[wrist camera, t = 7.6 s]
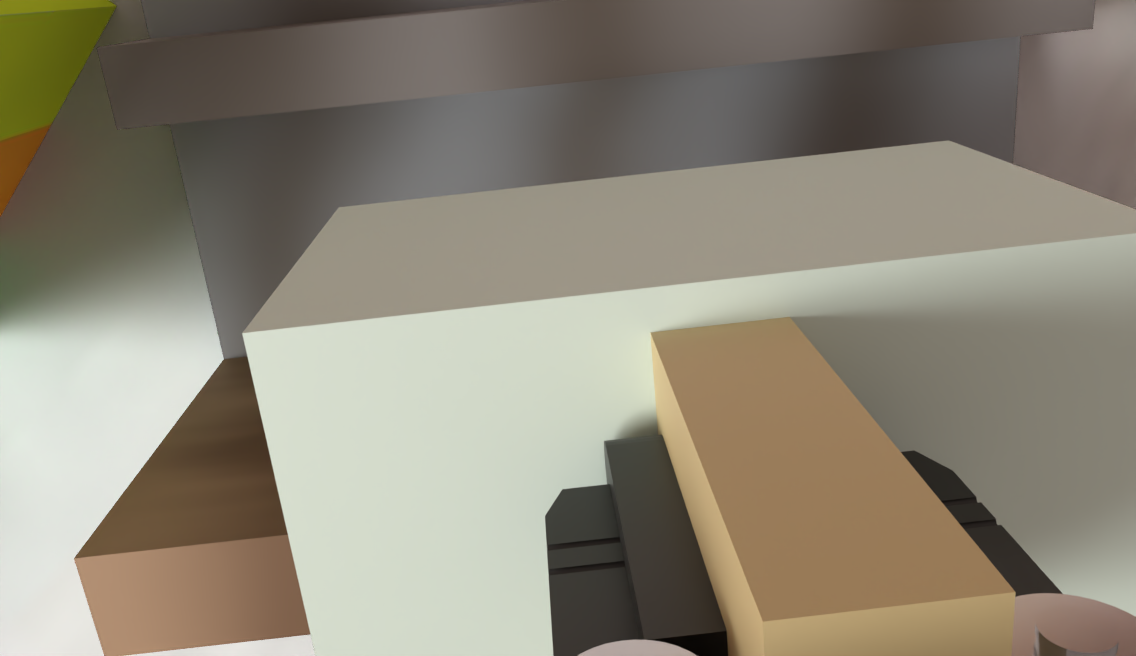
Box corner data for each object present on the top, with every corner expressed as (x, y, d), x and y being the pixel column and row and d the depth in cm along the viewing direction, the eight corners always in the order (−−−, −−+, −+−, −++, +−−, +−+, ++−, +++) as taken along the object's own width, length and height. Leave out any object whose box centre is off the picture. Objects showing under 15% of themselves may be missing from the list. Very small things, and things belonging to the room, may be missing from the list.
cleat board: (1008, -109, 23) (1354, -169, 13) (982, 364, 27) (1234, 571, 18) (151, -23, 23) (-107, -23, 13) (257, 444, 27) (118, 699, 17)
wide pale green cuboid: (949, 140, 16) (1746, 435, 6) (939, 417, 18) (1540, 1032, 7) (338, 206, 16) (9, 634, 5) (388, 480, 18) (209, 1200, 7)
